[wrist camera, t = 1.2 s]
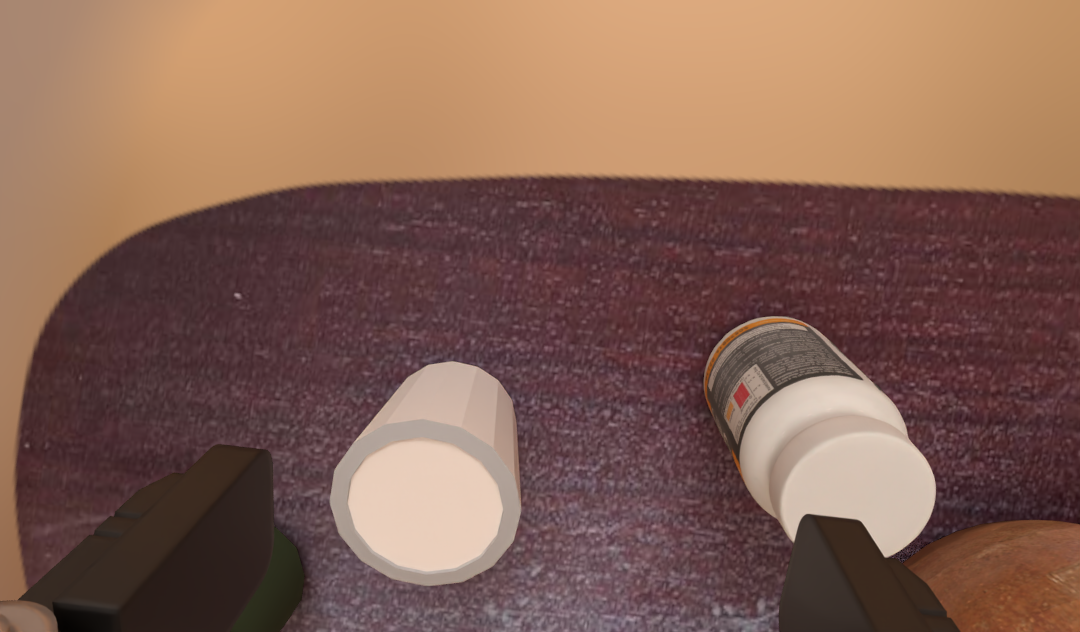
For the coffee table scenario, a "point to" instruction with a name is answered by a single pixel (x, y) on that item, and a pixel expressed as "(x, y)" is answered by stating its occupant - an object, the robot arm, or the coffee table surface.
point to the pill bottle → (816, 433)
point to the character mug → (275, 591)
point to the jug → (1006, 576)
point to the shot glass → (433, 479)
